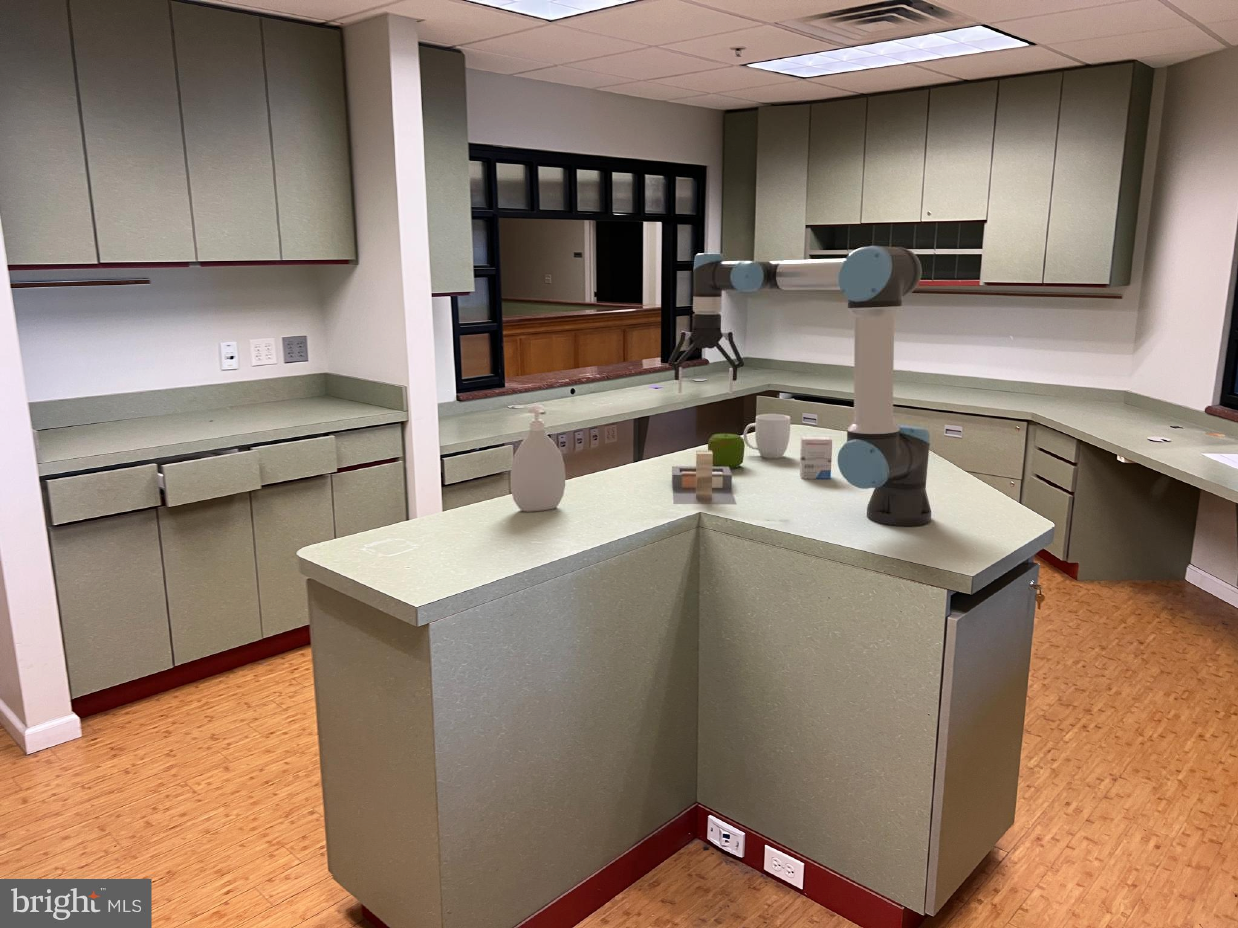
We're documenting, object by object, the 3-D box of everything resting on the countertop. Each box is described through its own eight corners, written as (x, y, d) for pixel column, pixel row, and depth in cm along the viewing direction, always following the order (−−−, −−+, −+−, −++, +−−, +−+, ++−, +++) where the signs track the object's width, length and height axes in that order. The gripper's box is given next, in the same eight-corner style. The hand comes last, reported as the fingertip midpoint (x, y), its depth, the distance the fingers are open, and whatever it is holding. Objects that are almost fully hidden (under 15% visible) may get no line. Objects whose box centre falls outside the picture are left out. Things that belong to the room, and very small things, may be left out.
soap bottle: (517, 517, 217) (514, 409, 211) (507, 509, 224) (504, 404, 218) (572, 510, 223) (570, 405, 217) (561, 502, 230) (559, 400, 224)
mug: (739, 457, 283) (740, 417, 280) (746, 451, 293) (747, 412, 290) (785, 461, 278) (787, 420, 275) (791, 454, 288) (793, 415, 285)
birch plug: (711, 498, 229) (712, 453, 226) (696, 498, 229) (697, 453, 227) (710, 494, 233) (711, 450, 230) (695, 494, 233) (696, 450, 230)
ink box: (828, 475, 259) (830, 436, 257) (830, 479, 255) (832, 439, 252) (798, 474, 260) (800, 435, 258) (800, 478, 255) (802, 439, 253)
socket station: (736, 508, 224) (737, 487, 223) (673, 507, 225) (673, 487, 224) (728, 483, 250) (728, 464, 248) (671, 483, 250) (671, 464, 249)
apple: (745, 463, 275) (747, 429, 272) (741, 471, 264) (742, 435, 262) (710, 461, 278) (711, 427, 275) (704, 469, 267) (705, 434, 265)
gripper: (753, 312, 236) (750, 391, 241) (660, 312, 237) (659, 390, 242) (755, 314, 229) (752, 395, 233) (659, 313, 230) (658, 394, 235)
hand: (705, 392), depth 238 cm, fingers open, 13 cm apart
